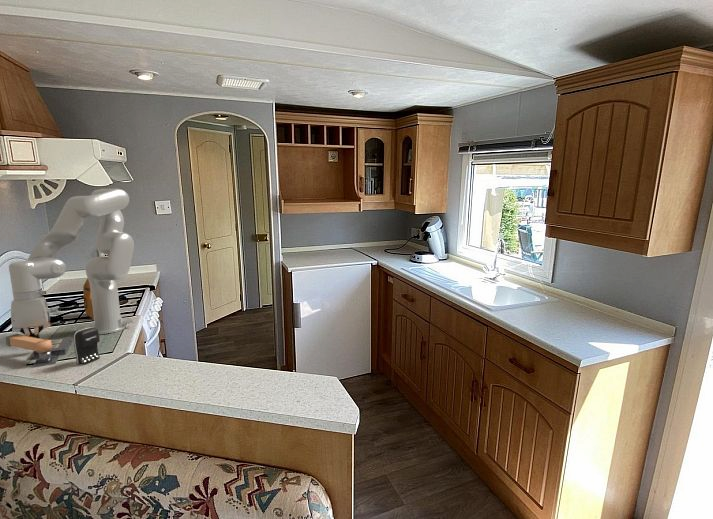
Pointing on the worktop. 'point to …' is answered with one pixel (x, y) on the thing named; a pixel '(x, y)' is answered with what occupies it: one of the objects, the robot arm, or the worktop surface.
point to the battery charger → (86, 345)
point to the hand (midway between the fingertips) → (34, 344)
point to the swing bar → (29, 343)
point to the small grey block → (45, 359)
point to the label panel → (57, 347)
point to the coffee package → (88, 299)
